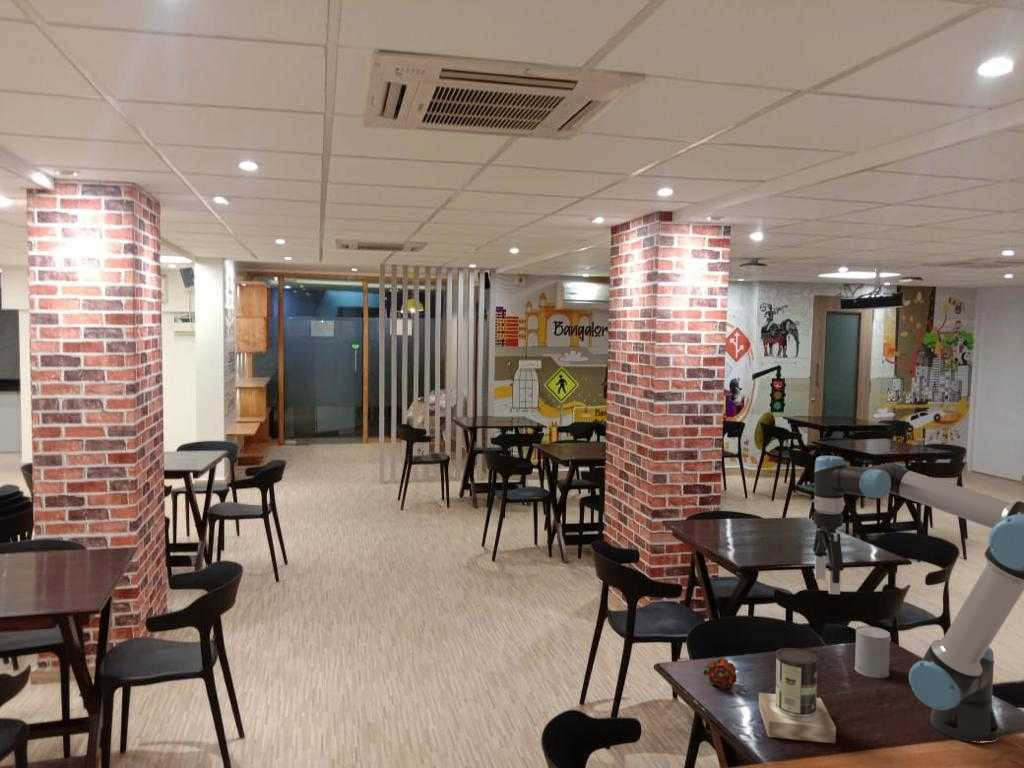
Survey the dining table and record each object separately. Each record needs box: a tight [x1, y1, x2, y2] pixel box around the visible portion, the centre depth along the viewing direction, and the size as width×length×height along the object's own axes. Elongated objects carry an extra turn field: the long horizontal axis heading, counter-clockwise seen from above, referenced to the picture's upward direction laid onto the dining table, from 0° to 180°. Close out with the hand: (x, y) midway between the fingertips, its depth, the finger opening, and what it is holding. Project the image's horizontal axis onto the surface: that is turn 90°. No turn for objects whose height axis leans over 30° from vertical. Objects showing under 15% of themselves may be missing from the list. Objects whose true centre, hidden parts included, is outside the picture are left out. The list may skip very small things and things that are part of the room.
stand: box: [758, 692, 837, 744], centre depth 193 cm, size 16×16×4 cm
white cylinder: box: [854, 625, 891, 679], centre depth 226 cm, size 10×10×12 cm
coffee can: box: [775, 647, 819, 717], centre depth 193 cm, size 10×10×14 cm
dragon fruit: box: [702, 657, 738, 690], centre depth 215 cm, size 8×8×12 cm
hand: (826, 586), depth 207 cm, fingers open, 13 cm apart
